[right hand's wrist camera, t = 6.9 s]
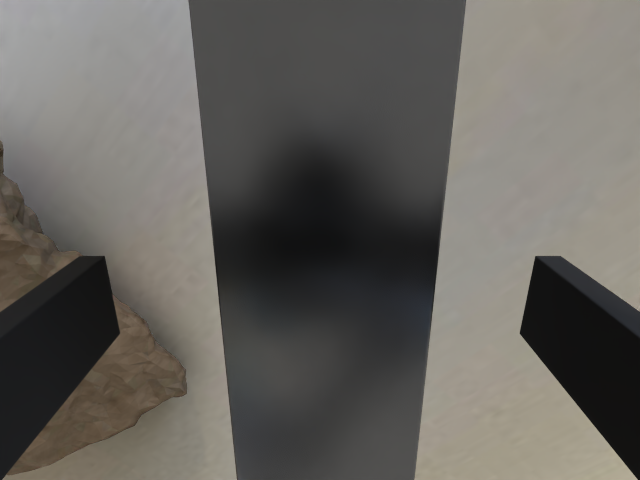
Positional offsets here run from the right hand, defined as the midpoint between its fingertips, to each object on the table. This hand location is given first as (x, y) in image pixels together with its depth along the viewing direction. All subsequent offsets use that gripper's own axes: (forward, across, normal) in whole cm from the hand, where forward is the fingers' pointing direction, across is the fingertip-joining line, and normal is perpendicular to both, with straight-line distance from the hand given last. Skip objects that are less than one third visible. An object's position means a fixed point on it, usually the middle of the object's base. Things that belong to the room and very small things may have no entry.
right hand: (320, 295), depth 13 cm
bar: (+5, 0, -10) cm, 11 cm away
